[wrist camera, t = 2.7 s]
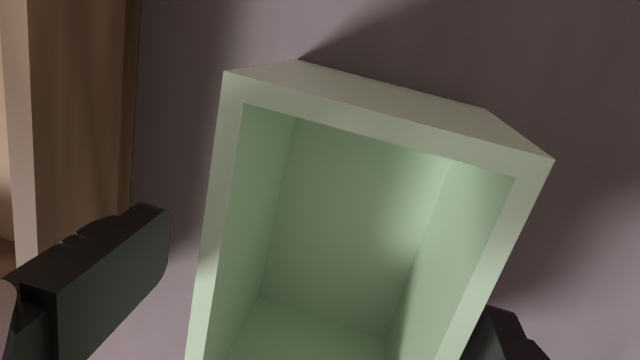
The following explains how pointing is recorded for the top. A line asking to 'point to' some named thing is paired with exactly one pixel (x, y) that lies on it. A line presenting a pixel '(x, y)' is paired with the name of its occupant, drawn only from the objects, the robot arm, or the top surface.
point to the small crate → (353, 218)
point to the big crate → (64, 119)
